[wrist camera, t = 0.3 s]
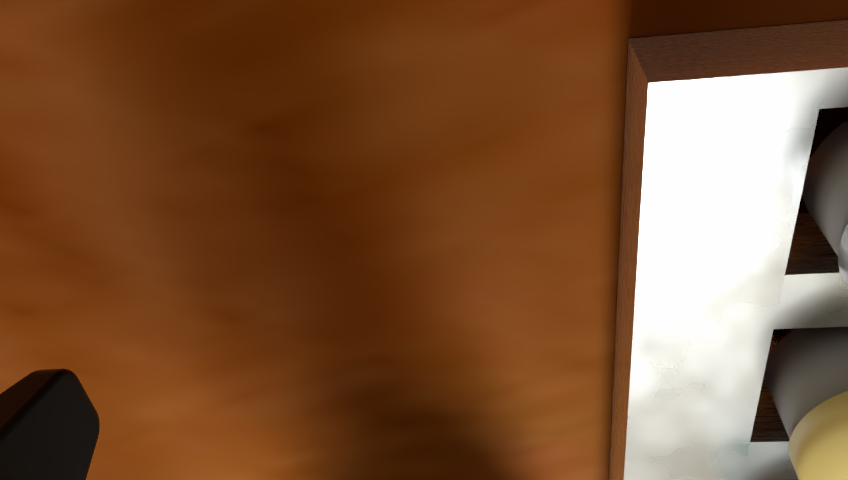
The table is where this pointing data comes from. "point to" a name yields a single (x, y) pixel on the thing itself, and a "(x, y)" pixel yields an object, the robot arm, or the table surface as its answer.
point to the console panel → (718, 245)
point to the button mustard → (813, 399)
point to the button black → (830, 192)
